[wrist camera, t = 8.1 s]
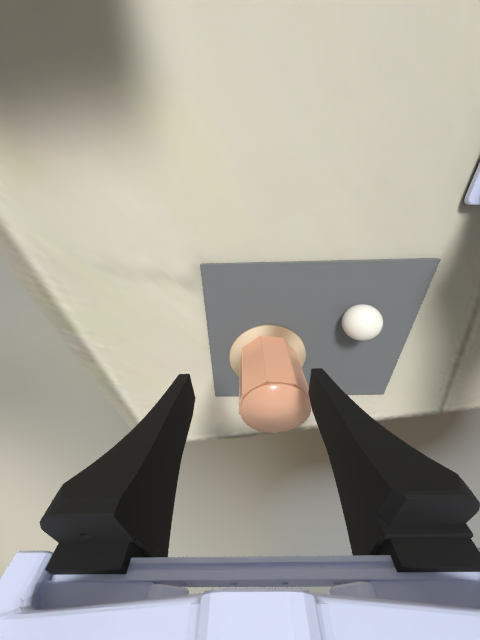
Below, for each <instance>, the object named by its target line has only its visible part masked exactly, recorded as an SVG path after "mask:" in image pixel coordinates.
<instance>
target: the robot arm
mask: <svg viewBox="0 0 480 640" xmlns="http://www.w3.org/2000/svg"><path fill="white" fill-rule="evenodd" d="M479 198H480V163H479V165H478V168H477V170H476V172H475V175H474V177H473V179H472V182H471V184H470V187H469V189H468V191H467V194H466V196H465V199H464V201H465V203H466V204H468V205H480V200H479ZM308 394H309V399H310V403H311V407H312V411H313V414H314V416H315V419H316V422H317V425H318V427H319V430H320V433H321V435H322V438H323V441H324V443H325V446H326V449H327V452H328V455H329V458H330V462H331V465H332V469H333V473H334V476H335V481H336V484H337V488H338V492H339V496H340V500H341V505H342V509H343V513H344V517H345V521H346V526H347V530H348V535H349V540H350V544H351V549H352V554H353V556H260V557H259V556H257V557H168V548H169V539H170V530H171V523H172V515H173V508H174V501H175V493H176V487H177V480H178V475H179V469H180V463H181V458H182V454H183V450H184V446H185V442H186V439H187V435H188V431H189V427H190V423H191V420H192V416H193V410H194V403H195V395H194V391H193V387H192V383H191V379H190V374H179V375H178V376H177V378H176V379H175V380H174V382H173V383H172V385H171V386H170V387H169V388H168V390H167V391H166V392H165V394H164V395H163V396H162V397H161V399H160V400H159V401H158V402H157V404H156V405H155V406H154V407H153V408H152V409H151V411H150V412H149V413H148V414H147V415H146V416H145V417H144V418H143V419H142V421H141V422H140V423H139V424H138V425H137V426H136V427H135V428H134V429H133V430H132V431H131V432H130V433H129V434H128V435H126V436H125V437H124V438H123V439H122V440H121V441H120V442H118V443H117V444H116V445H115V446H114V447H113V448H112V449H110V450H109V451H108V452H107V453H105V454H104V455H103V456H102V457H100V458H99V459H98V460H96V461H95V462H94V463H93V464H91V465H90V466H88V467H87V468H86V469H84V470H83V471H82V472H80V473H78V474H77V475H76V476H74V477H73V478H71V479H70V480H69V481H67V482H65V483H64V484H63V485H62V487H61V488H60V490H59V491H58V493H57V494H56V496H55V498H54V499H53V501H52V503H51V504H50V506H49V507H48V509H47V511H46V512H45V514H44V516H43V517H42V519H41V521H40V526H41V529H42V530H43V531H44V532H46V533H47V534H48V535H49V536H51V537H52V538H53V539H55V540H56V541H57V542H59V544H58V546H57V548H56V549H55V551H54V553H53V552H49V551H19V552H18V553H17V554H16V555H15V557H14V558H13V560H12V561H11V563H10V565H9V566H8V568H7V569H6V571H5V573H4V574H3V576H2V577H1V579H0V640H480V547H479V548H477V547H476V546H475V544H474V543H473V541H472V540H471V538H472V537H473V533H472V532H471V530H470V529H469V527H468V526H467V524H466V522H468V521H469V520H470V519H471V518H472V517H473V516H474V515H475V514H476V513H477V512H478V510H479V507H480V502H479V501H478V500H477V499H476V497H475V496H474V495H473V493H472V492H471V490H470V489H469V488H468V486H467V485H466V484H465V483H464V481H463V480H462V479H461V478H460V477H459V476H458V474H456V473H455V472H453V471H451V470H449V469H448V468H446V467H444V466H442V465H441V464H439V463H437V462H435V461H434V460H432V459H430V458H428V457H427V456H425V455H424V454H422V453H421V452H419V451H417V450H416V449H414V448H413V447H411V446H410V445H408V444H407V443H405V442H404V441H402V440H401V439H399V438H398V437H396V436H395V435H394V434H392V433H391V432H389V431H388V430H387V429H385V428H384V427H383V426H381V425H380V424H379V423H377V422H376V421H375V420H374V419H373V418H371V417H370V416H369V415H368V414H367V413H366V412H365V411H363V410H362V409H361V408H360V407H359V406H358V405H357V404H356V403H355V402H354V401H353V400H352V399H351V398H350V397H349V396H348V395H347V394H346V393H345V392H344V391H343V390H342V389H341V388H340V387H339V386H338V385H337V384H336V383H335V382H334V381H333V380H332V379H331V377H330V376H329V375H328V374H327V373H326V372H325V371H324V370H323V369H322V368H314V369H311V375H310V383H309V391H308ZM296 586H297V587H315V586H316V587H317V586H318V587H321V586H322V587H323V586H332V587H331V589H330V593H331V594H321V593H311V592H310V591H308V590H304V589H298V588H219V589H211V590H208V591H205V592H204V593H200V594H190V595H189V591H188V589H187V588H182V587H296Z"/></svg>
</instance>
